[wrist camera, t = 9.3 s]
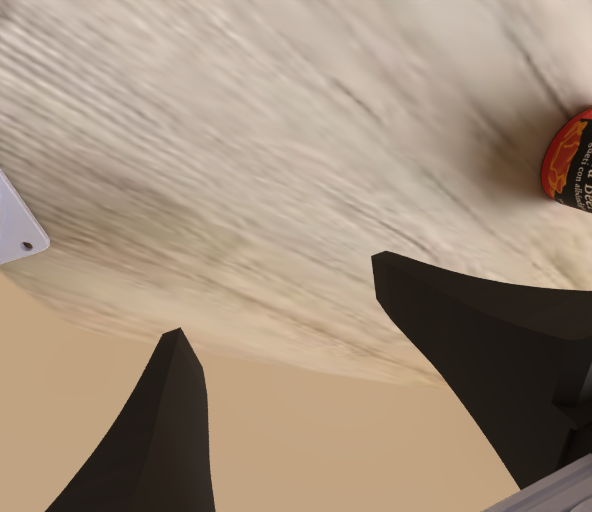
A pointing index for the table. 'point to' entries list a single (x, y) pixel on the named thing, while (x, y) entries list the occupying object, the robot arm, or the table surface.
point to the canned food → (571, 164)
